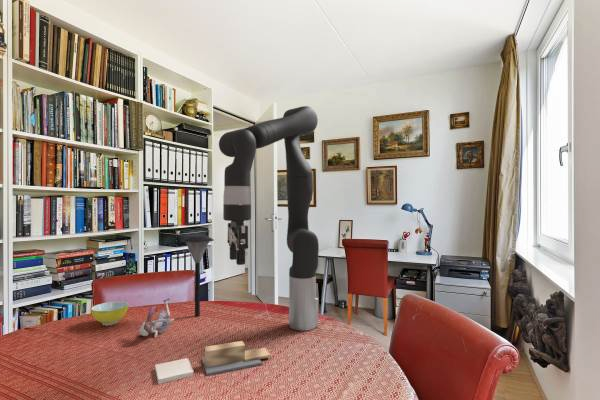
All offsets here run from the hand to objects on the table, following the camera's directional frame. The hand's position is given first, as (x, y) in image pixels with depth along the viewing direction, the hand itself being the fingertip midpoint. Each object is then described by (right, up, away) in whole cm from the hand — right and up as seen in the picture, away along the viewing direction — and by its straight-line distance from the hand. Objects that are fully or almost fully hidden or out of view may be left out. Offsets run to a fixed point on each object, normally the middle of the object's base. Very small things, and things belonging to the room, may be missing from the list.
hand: (237, 261), depth 92 cm
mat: (-1, -26, -3) cm, 26 cm away
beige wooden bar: (+1, -26, -3) cm, 26 cm away
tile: (-11, -26, -7) cm, 29 cm away
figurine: (-29, -27, +16) cm, 42 cm away
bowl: (-49, -27, +25) cm, 61 cm away
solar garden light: (-21, -27, +33) cm, 47 cm away
